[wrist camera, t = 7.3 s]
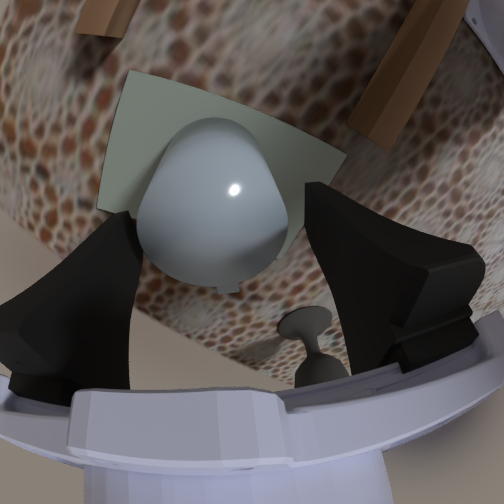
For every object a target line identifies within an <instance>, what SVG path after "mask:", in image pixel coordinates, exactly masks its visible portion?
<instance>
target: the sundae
mask: <svg viewBox="0 0 504 504" xmlns="http://www.w3.org/2000/svg"><path fill="white" fill-rule="evenodd" d="M331 321H332V314H331V312H330V311H329V310H328V309H326V308H324V307H319V306H310V307H304V308H301V309H298V310H295V311H293V312H291V313H290V314H288V315H287V316H285V317H284V318H283V319H282V321H281V322H280V324H279V327H278V331H279V333H280V334H281V335H282V336H283V337H285V338H287V339H291V340H302V341H303V343H304V345H305V348H306V352H307V357H306V359H305V360H304V361H303V362H302V363H301V364H300V366H299V368H298V369H297V371H296V373H295V386H294V388H300V387H305V386H310V385H315V384H319V383H324V382H328V381H333V380H337V379H341V378H345V377H349V374H348V372H347V370H346V369H345V367H344V366H343V364H342V362H341V361H340V360H338V359H336V358H335V357H333V356H331V355H327V354H323V353H321V352H320V349H319V346H318V341H317V335H318V334H320V333H321V332H323V331H324V330H325V329H326V328H327V327H328V326H329V325H330V323H331Z"/></svg>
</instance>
